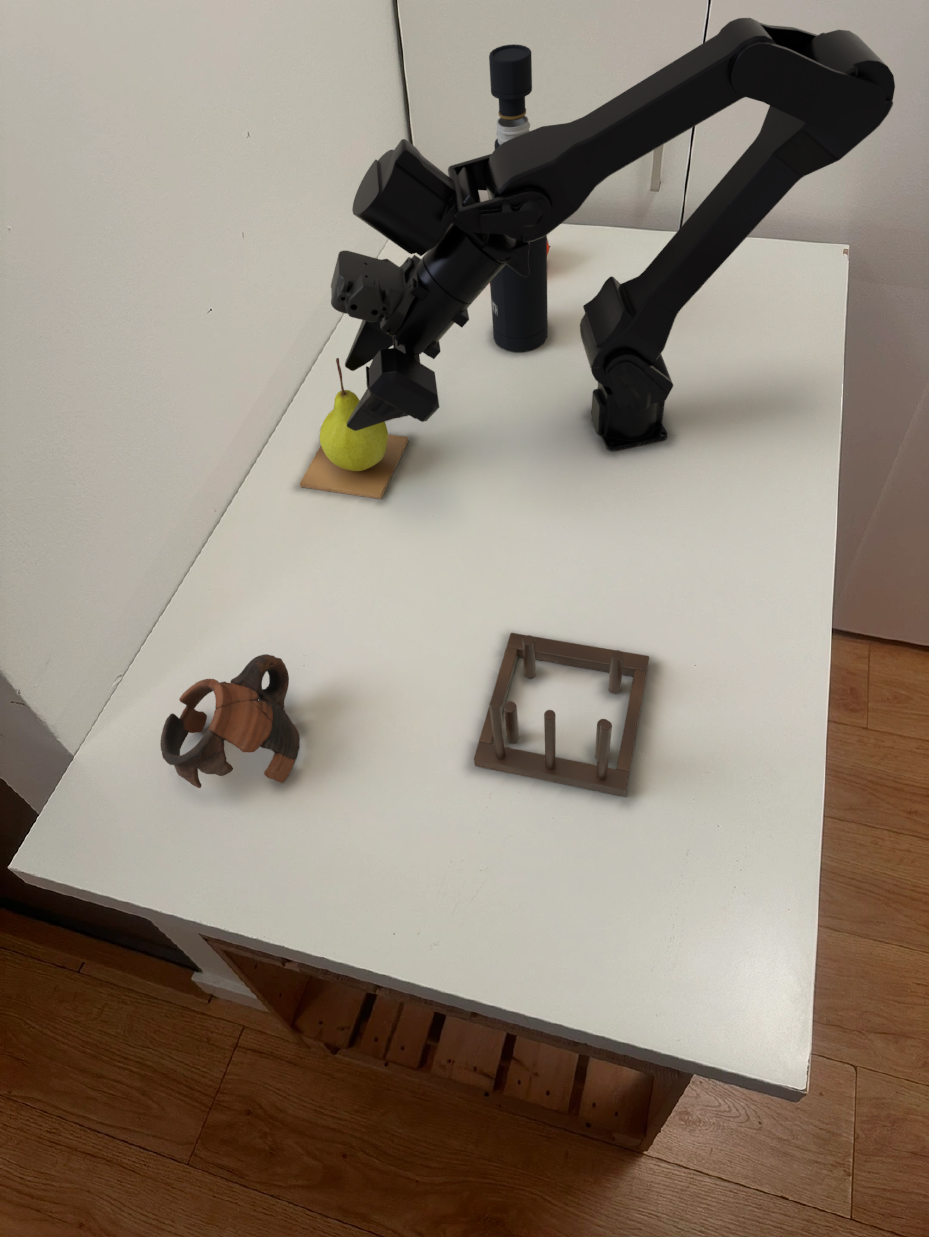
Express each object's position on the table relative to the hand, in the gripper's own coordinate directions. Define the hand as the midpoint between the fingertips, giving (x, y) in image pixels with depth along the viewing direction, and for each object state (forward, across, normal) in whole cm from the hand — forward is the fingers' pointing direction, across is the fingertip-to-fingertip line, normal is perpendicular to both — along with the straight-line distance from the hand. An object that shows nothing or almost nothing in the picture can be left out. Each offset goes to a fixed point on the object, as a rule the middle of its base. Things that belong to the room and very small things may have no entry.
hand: (349, 397), depth 85 cm
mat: (+7, 0, +5) cm, 9 cm away
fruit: (+6, +1, +6) cm, 8 cm away
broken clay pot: (+14, +32, -2) cm, 35 cm away
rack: (-5, +34, +17) cm, 38 cm away
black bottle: (-7, -18, +20) cm, 28 cm away
